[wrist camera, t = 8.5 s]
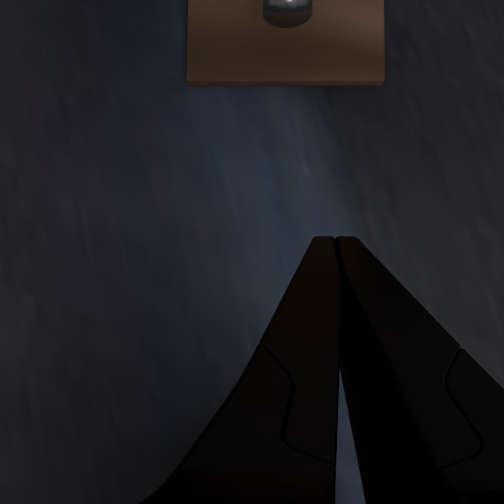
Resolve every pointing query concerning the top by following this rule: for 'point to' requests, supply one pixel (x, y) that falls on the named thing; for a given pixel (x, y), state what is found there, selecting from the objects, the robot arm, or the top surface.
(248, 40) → the pipe stand
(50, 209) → the top surface
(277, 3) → the pipe
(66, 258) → the top surface
